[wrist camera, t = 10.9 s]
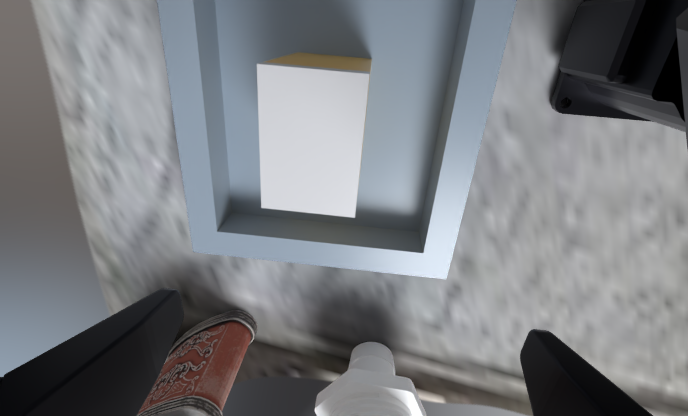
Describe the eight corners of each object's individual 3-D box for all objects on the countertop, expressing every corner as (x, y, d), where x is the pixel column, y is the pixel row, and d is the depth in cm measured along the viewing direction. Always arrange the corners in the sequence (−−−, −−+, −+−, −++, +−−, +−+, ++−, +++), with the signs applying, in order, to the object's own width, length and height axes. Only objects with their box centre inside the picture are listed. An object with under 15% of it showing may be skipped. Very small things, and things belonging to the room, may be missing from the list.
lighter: (194, 370, 29) (113, 522, 20) (163, 344, 28) (63, 492, 19) (268, 331, 26) (212, 486, 17) (236, 301, 25) (160, 450, 16)
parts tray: (511, -77, 15) (542, -101, 12) (437, 248, 22) (446, 279, 19) (180, -99, 15) (138, -127, 13) (214, 225, 22) (192, 251, 20)
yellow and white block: (372, 58, 17) (369, 74, 11) (361, 160, 19) (354, 217, 13) (298, 52, 17) (256, 63, 11) (296, 153, 19) (261, 208, 13)
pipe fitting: (330, 317, 25) (312, 431, 18) (430, 334, 25) (451, 455, 18) (319, 376, 28) (299, 495, 21) (409, 392, 28) (420, 516, 21)
